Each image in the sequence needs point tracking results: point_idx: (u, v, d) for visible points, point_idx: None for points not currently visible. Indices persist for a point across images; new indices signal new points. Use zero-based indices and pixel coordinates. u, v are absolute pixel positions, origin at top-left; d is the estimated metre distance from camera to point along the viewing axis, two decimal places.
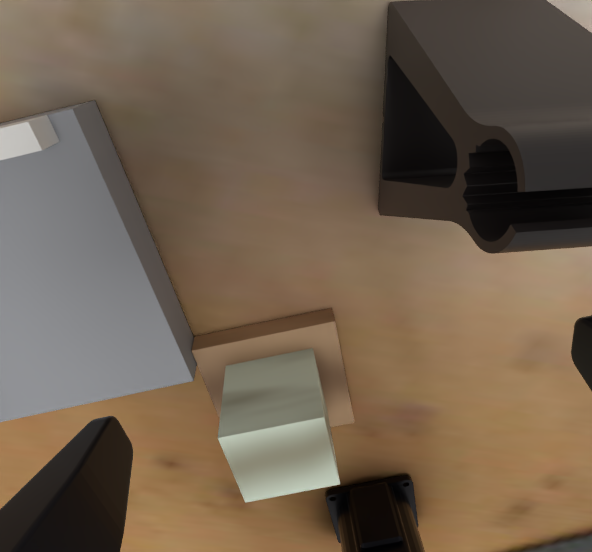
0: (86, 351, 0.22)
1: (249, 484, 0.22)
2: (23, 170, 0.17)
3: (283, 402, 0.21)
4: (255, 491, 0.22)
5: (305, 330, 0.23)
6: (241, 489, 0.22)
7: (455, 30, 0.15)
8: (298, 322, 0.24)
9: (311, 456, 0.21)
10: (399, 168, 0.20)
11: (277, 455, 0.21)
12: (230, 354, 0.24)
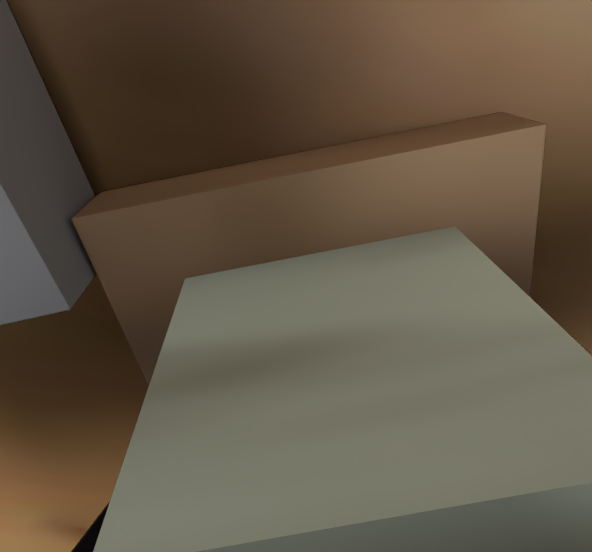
0: None
1: None
2: None
3: (416, 383, 0.05)
4: None
5: (445, 156, 0.07)
6: None
7: None
8: (415, 141, 0.08)
9: None
10: None
11: None
12: (199, 238, 0.08)
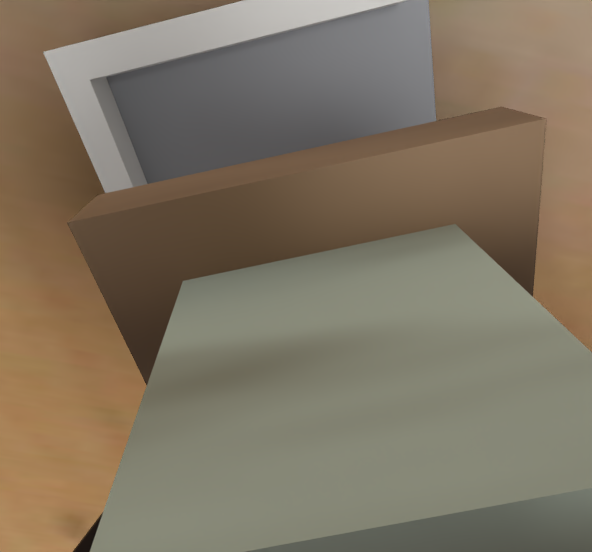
0: None
1: None
2: (345, 43, 0.14)
3: (416, 385, 0.05)
4: None
5: (443, 153, 0.07)
6: None
7: None
8: (413, 138, 0.07)
9: None
10: None
11: None
12: (196, 240, 0.07)
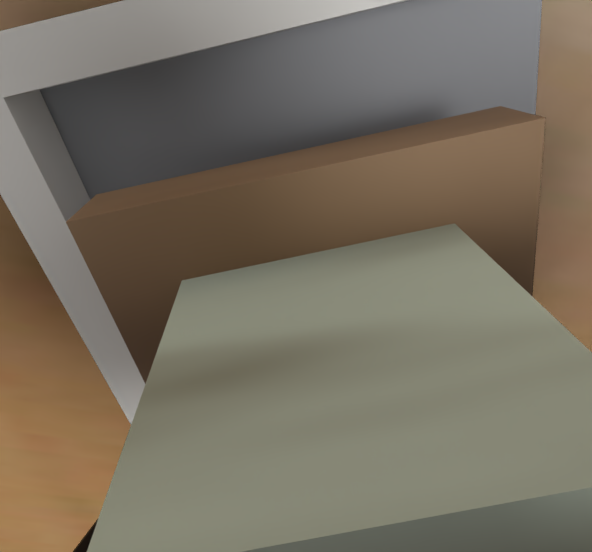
0: None
1: None
2: (410, 39, 0.09)
3: (414, 383, 0.05)
4: None
5: (442, 152, 0.07)
6: None
7: None
8: (412, 137, 0.07)
9: None
10: None
11: None
12: (195, 239, 0.07)
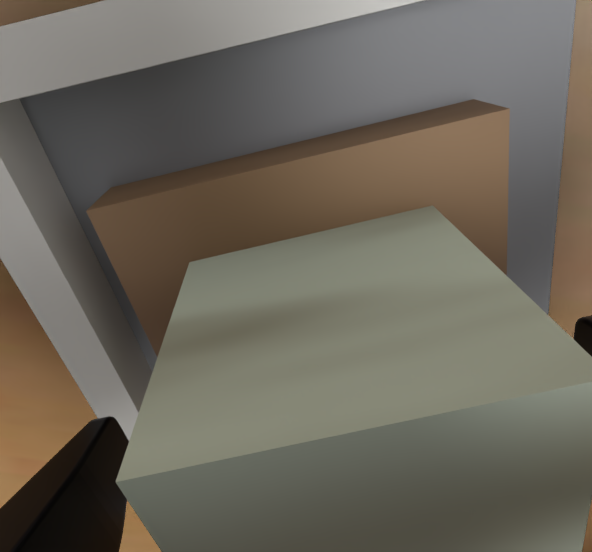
0: None
1: None
2: (430, 43, 0.09)
3: (388, 333, 0.05)
4: None
5: (419, 141, 0.08)
6: None
7: None
8: (393, 129, 0.08)
9: (501, 543, 0.05)
10: None
11: (372, 541, 0.05)
12: (200, 224, 0.08)
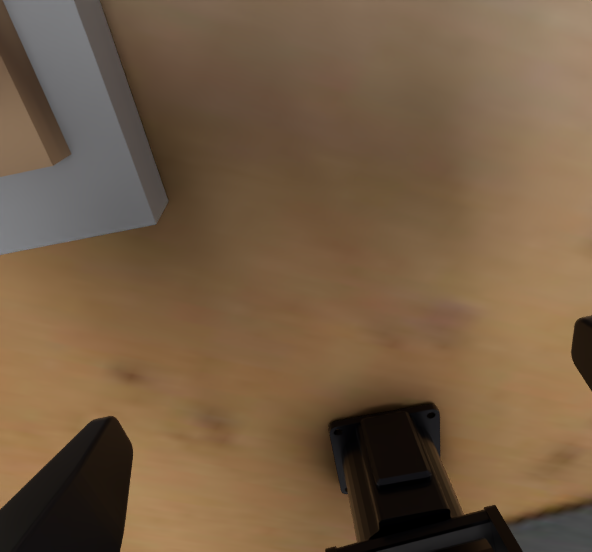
0: None
1: None
2: None
3: None
4: None
5: None
6: None
7: None
8: None
9: None
10: None
11: None
12: None
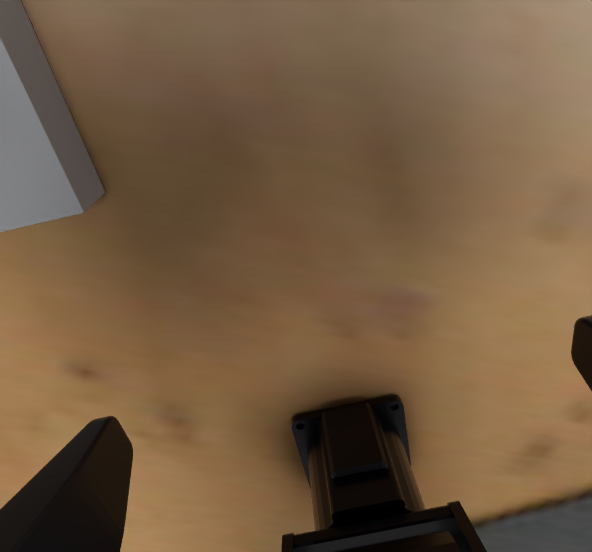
0: None
1: None
2: None
3: None
4: None
5: None
6: None
7: None
8: None
9: None
10: None
11: None
12: None
